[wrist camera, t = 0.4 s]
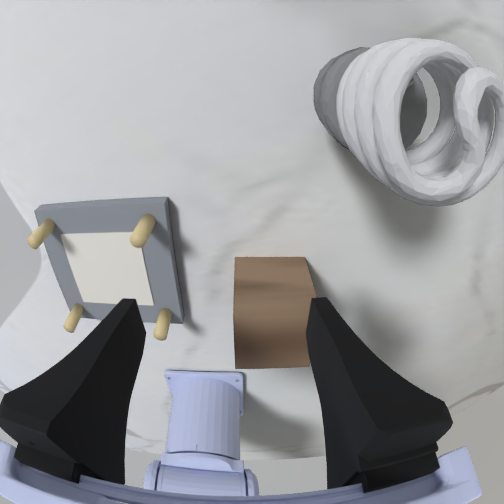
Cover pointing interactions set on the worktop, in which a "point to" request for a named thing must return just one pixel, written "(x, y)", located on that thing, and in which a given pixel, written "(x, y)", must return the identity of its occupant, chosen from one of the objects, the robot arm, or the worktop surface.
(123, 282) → the standoff board
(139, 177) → the worktop surface
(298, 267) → the walnut block
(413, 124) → the light bulb
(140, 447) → the worktop surface
